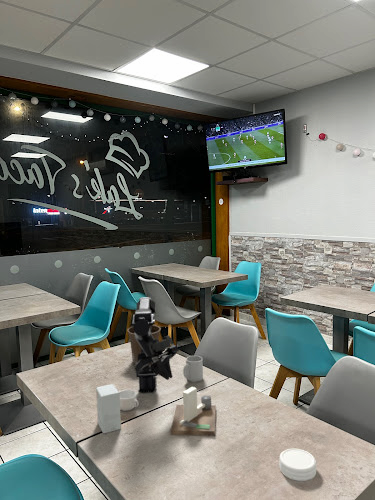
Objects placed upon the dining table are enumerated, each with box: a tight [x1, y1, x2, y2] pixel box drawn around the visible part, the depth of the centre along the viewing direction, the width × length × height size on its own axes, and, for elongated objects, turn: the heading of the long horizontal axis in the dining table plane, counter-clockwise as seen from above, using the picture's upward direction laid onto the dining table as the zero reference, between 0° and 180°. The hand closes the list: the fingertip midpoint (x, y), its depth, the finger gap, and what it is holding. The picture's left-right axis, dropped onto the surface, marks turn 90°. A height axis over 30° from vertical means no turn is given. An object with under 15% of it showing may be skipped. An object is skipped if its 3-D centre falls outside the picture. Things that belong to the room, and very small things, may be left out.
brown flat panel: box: [170, 404, 217, 437], centre depth 136 cm, size 14×17×2 cm
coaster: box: [278, 448, 317, 482], centre depth 110 cm, size 10×10×4 cm
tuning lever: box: [180, 386, 212, 424], centre depth 137 cm, size 16×4×10 cm, turn 140°
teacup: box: [118, 389, 140, 412], centre depth 146 cm, size 10×8×5 cm
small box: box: [95, 383, 122, 434], centre depth 134 cm, size 8×6×13 cm
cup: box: [182, 355, 204, 383], centre depth 170 cm, size 7×10×9 cm
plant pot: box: [126, 324, 162, 365], centre depth 193 cm, size 16×16×16 cm
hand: (170, 378), depth 140 cm, fingers closed
